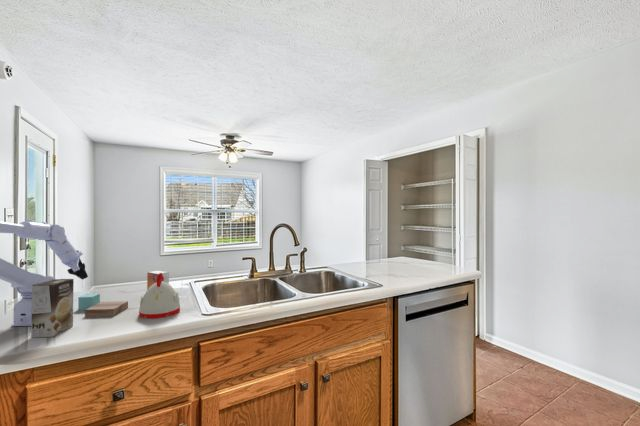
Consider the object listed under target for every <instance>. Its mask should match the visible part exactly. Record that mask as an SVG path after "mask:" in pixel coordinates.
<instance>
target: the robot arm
mask: <svg viewBox="0 0 640 426" xmlns="http://www.w3.org/2000/svg"><path fill="white" fill-rule="evenodd" d="M0 233H1V234H16V235H17V237H19V238H20V239H28V240H31V239H32V240H39V241H44V242H45V244H47V246H48V247H49V249H51V250H52V251H53V253H54V254H55V255H56V256H57V257H58V258H59V259H60V262H61V263H62V264H63V265H65V266H67V267H68V269H67V273H68V274H70V275H73V276H76V277H77V278H79V279H81V280H84V279H87V278H89V275H88V273H87V271H86V264H85V262H82V260H81V256H83V255H84V253H83V251H81V250H80V251H79V250H76V248H75V247H74V245H72V243H71V242H70V240H69V239H68V238H67V235H66V231H65V228H64V227H63V226H60V225H59V224H48V222H45V221H43V222H35V220H34V219H33V220H32V219H27V220H26V221H25V220H24V221H22V222H20V223H12V222H6V221H0ZM54 279H56V278H55V277H54V276H51V275H47V276H45V275H43V274H39V273H34V272H31V271H28V270H26V269H24V268H21V266H18V265H15V264H13V263H11V262H9V261H8V260H5V259H3V258H1V257H0V280H1V281H4V282H6V283H9V284H10V287H11V288H14V290H16V292H17V293H18V294H20V297H21V299H20V300H19V301H18V302H16V303H15V304H14V307H13V323H12V324H10V327H28V326H31V323H32V285H35V284H38V283H42V282H46V281H50V280H54Z"/></svg>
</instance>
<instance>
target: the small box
mask: <svg viewBox="0 0 640 426" xmlns="http://www.w3.org/2000/svg"><path fill="white" fill-rule="evenodd" d="M159 273H162V275H163V277H164V282H166V283H168V284H169V285H170V272H169V271H163V270H153V271H147V279H146V281H147V282H146V286H147V289H146V291H147V290H148V289H149V288H150V287H151V286H152V285H153V284H155V283H156V280H157V275H159Z"/></svg>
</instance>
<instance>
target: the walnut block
mask: <svg viewBox="0 0 640 426" xmlns="http://www.w3.org/2000/svg"><path fill="white" fill-rule="evenodd" d="M126 309H129V301H128V300H123V301H121V300H118V301H100V303H98V304H96V305H94V306H92V307H90V308H88V309H86V310H84V317H85V318H90V317H92V318H93V317H115V316H117V315H118V314H120V313H122V312H123V311H125V310H126Z"/></svg>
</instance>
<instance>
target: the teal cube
mask: <svg viewBox="0 0 640 426" xmlns="http://www.w3.org/2000/svg"><path fill="white" fill-rule="evenodd" d="M77 300H78V309H77V310H79V311H85V310H86V309H88V308H90V307H92V306H94V305H96V304H98V303H100V302H101V301H100V300H101V293H86V294H83V295H80V296H78V299H77Z"/></svg>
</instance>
